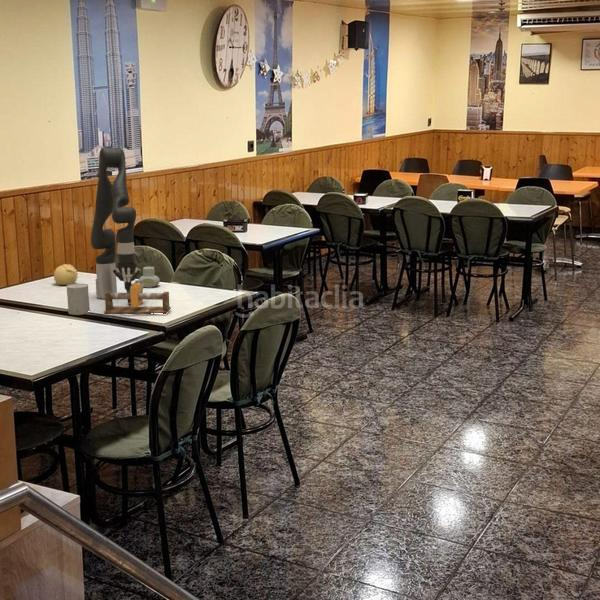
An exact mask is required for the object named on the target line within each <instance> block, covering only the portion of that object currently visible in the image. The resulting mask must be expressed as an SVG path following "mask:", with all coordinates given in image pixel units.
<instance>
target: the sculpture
mask: <svg viewBox="0 0 600 600" xmlns="http://www.w3.org/2000/svg"><path fill="white" fill-rule="evenodd" d="M53 280H54V282H55V283H56V284H57V285H60V286H67V285H71V284H76V282H77V280H78V270H77V269H76V268H75V267H74V265H72V264H69V263H68V264H67V263H63V264H62V265H59V266H57V267H55V269H54V272H53Z"/></svg>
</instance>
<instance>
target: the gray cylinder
mask: <svg viewBox="0 0 600 600" xmlns="http://www.w3.org/2000/svg"><path fill="white" fill-rule="evenodd" d="M65 286H66V297H67V309H68V310H67V311H68V313H67V314H69V315H73V316H74V315H75V316H79V315H85V314H84V313H87V312H88V311H90V312H91V310H90V296H89V295H90V294H89V284H88V283H74V284H71V285H65ZM87 314H88V313H87Z"/></svg>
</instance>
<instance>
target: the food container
mask: <svg viewBox="0 0 600 600" xmlns="http://www.w3.org/2000/svg"><path fill="white" fill-rule="evenodd" d="M138 280H139V279H138ZM138 280H137V279H135V280H134V283H141V293H144V291H143V290H144V288H145V287H144V284H143V282H142V281H138ZM134 283H131V285H133V284H134ZM125 291H126V293H130V290H126V289H125ZM126 300H127V306H128V305H131V299H126ZM142 302H143V300H142Z"/></svg>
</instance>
